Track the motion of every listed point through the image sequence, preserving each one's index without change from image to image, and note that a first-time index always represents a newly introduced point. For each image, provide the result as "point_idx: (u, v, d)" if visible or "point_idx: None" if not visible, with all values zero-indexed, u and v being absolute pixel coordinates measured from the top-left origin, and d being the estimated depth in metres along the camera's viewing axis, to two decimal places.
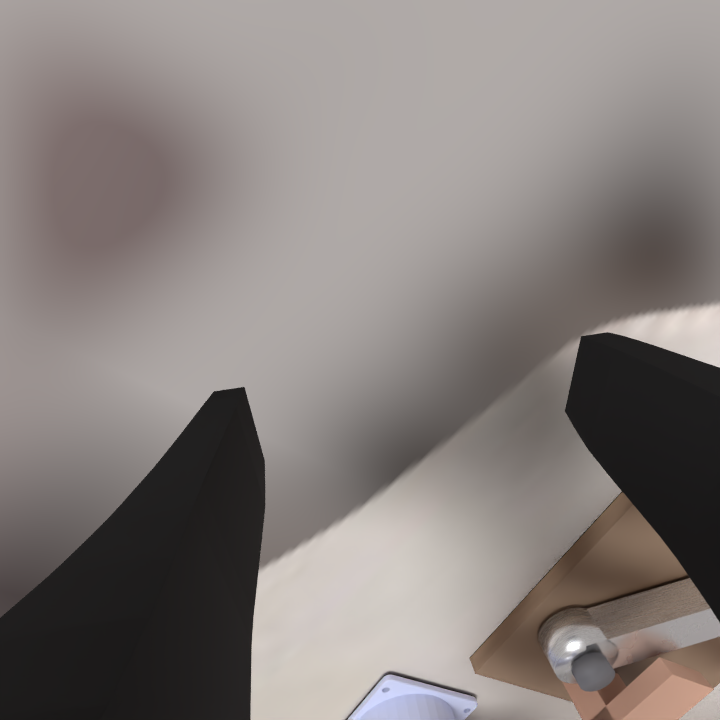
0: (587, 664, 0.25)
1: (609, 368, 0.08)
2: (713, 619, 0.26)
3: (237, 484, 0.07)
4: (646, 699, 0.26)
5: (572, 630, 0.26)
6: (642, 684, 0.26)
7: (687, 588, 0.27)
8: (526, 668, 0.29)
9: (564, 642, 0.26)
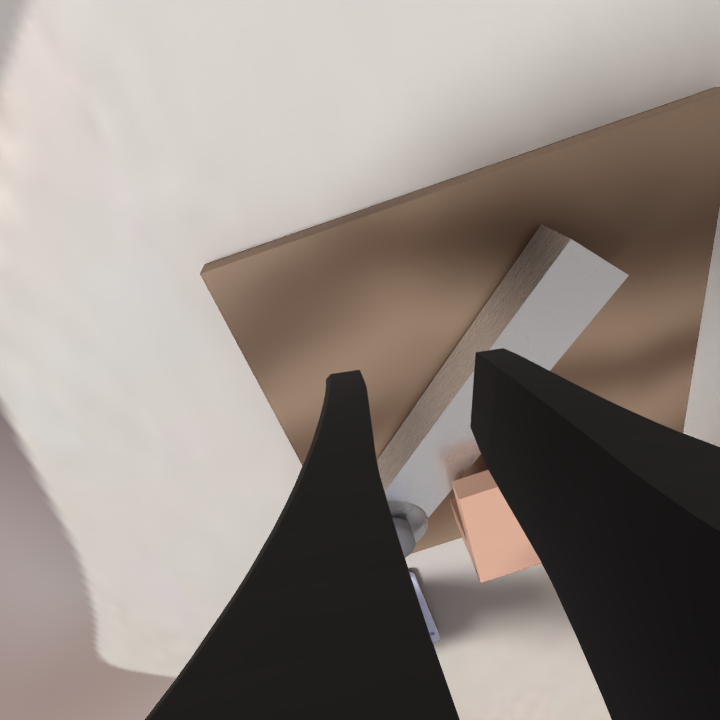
0: None
1: (495, 386, 0.08)
2: None
3: None
4: (470, 529, 0.20)
5: None
6: (461, 515, 0.20)
7: (439, 383, 0.19)
8: None
9: None
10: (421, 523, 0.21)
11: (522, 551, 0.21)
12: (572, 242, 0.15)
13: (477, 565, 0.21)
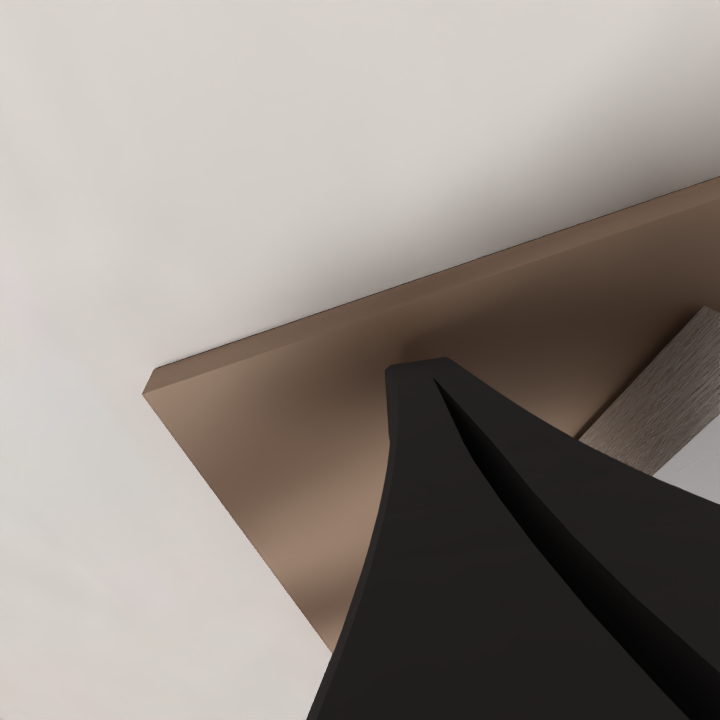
0: None
1: None
2: None
3: None
4: None
5: None
6: None
7: None
8: None
9: None
10: None
11: None
12: None
13: None
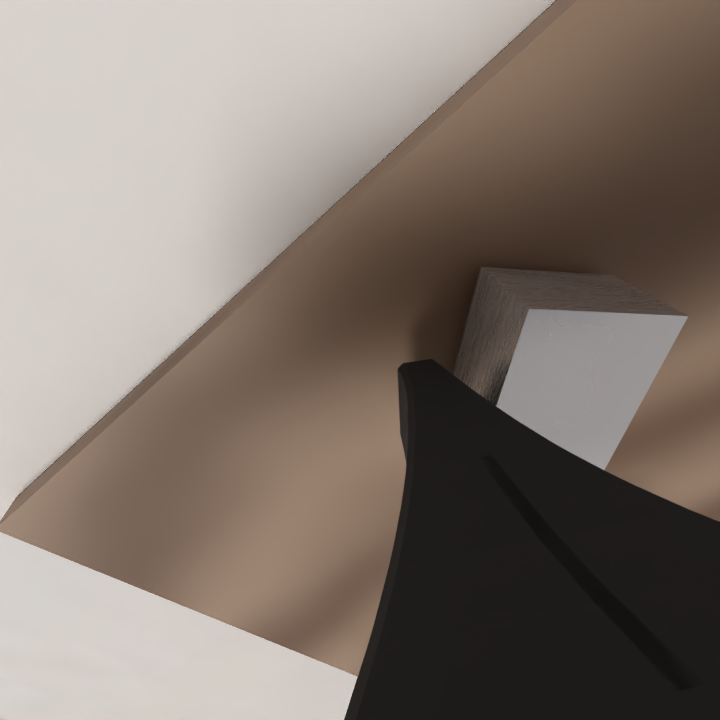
0: None
1: None
2: None
3: None
4: None
5: None
6: None
7: None
8: None
9: None
10: None
11: None
12: (535, 313, 0.07)
13: None
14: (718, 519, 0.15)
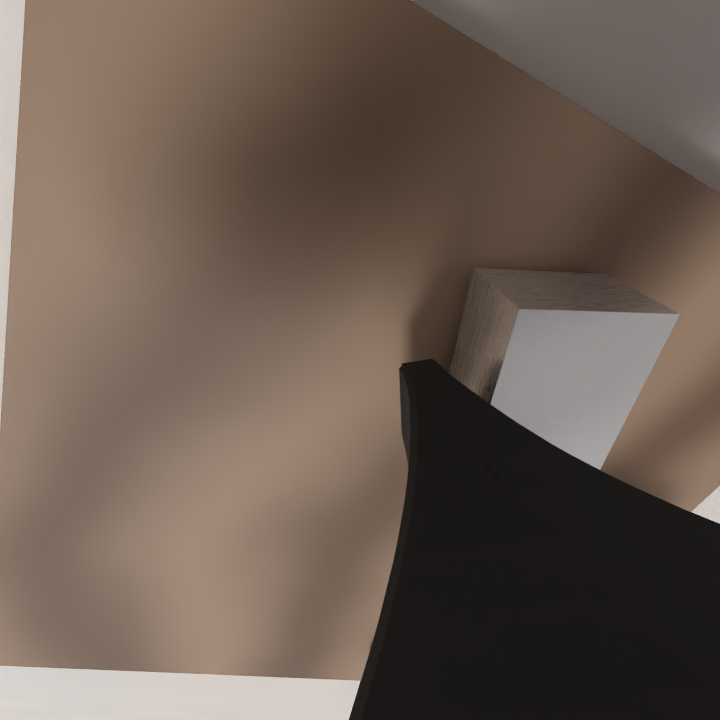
0: None
1: None
2: None
3: None
4: None
5: None
6: None
7: None
8: None
9: None
10: None
11: None
12: (525, 313, 0.07)
13: None
14: (678, 438, 0.13)
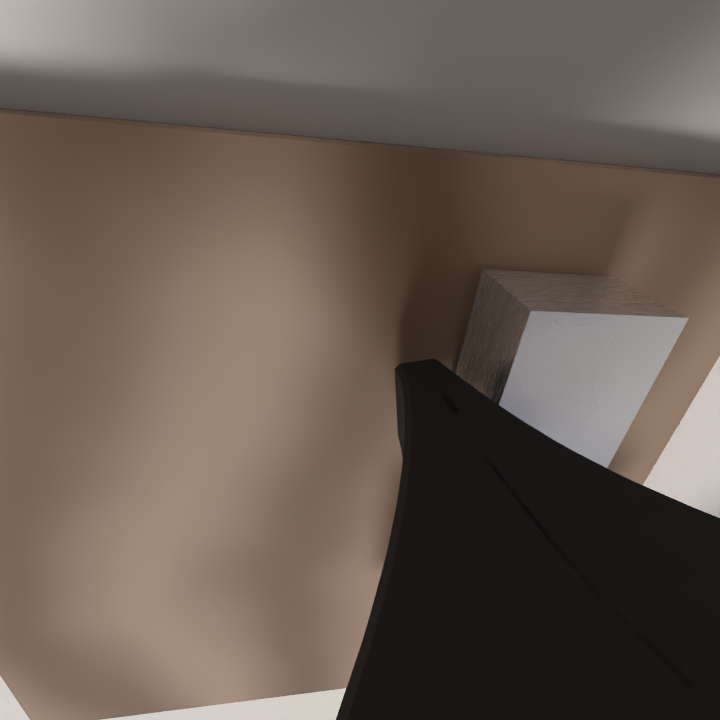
0: None
1: None
2: None
3: None
4: None
5: None
6: None
7: None
8: None
9: None
10: None
11: None
12: (536, 315, 0.07)
13: None
14: None
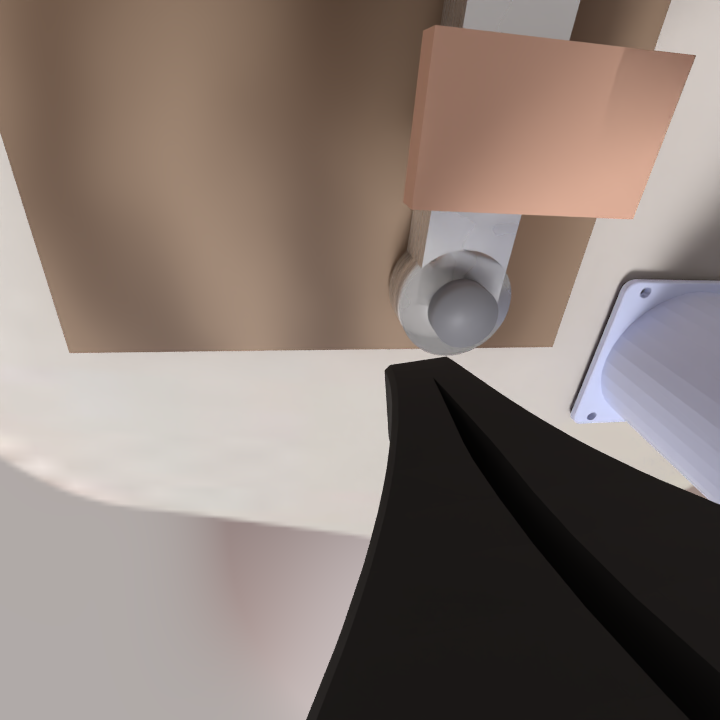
0: None
1: None
2: (509, 13, 0.11)
3: None
4: (492, 207, 0.12)
5: (396, 305, 0.16)
6: None
7: None
8: (537, 279, 0.18)
9: (403, 327, 0.16)
10: (499, 283, 0.15)
11: (615, 125, 0.11)
12: None
13: (585, 215, 0.13)
14: None
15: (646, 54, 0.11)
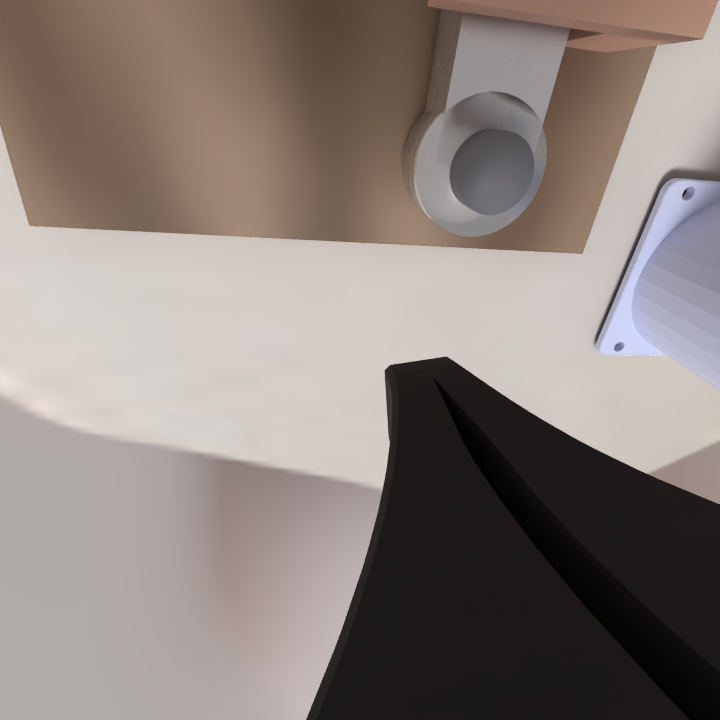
0: (469, 207, 0.13)
1: None
2: None
3: None
4: (538, 3, 0.10)
5: (412, 172, 0.13)
6: (509, 14, 0.10)
7: None
8: (571, 164, 0.16)
9: (419, 199, 0.14)
10: (534, 141, 0.13)
11: None
12: None
13: (647, 27, 0.10)
14: None
15: None
